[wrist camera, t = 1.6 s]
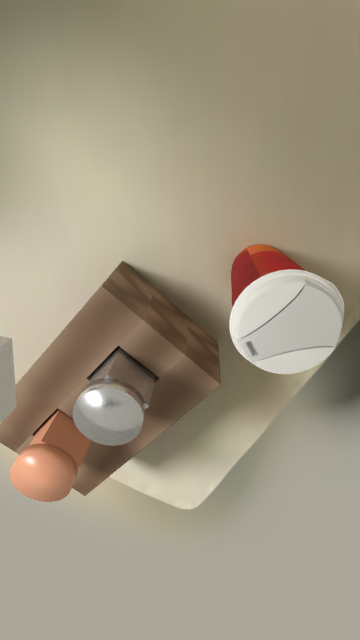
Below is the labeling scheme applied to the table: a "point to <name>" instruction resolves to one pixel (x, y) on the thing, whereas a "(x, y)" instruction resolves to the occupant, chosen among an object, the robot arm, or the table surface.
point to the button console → (94, 347)
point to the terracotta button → (50, 459)
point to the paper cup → (282, 312)
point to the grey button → (114, 400)
